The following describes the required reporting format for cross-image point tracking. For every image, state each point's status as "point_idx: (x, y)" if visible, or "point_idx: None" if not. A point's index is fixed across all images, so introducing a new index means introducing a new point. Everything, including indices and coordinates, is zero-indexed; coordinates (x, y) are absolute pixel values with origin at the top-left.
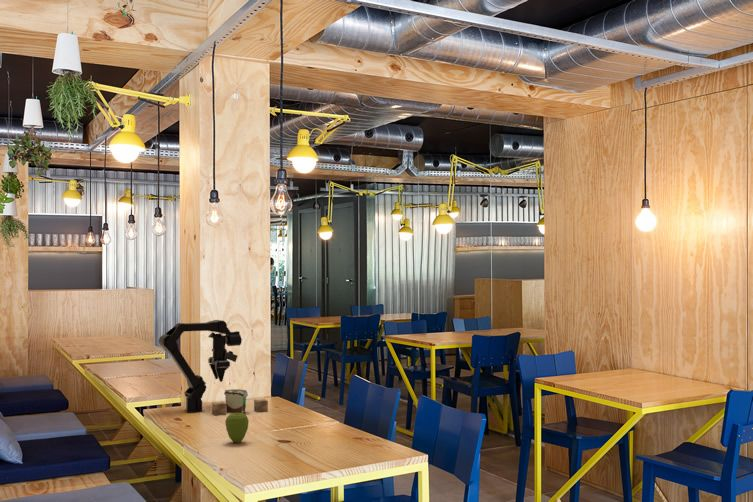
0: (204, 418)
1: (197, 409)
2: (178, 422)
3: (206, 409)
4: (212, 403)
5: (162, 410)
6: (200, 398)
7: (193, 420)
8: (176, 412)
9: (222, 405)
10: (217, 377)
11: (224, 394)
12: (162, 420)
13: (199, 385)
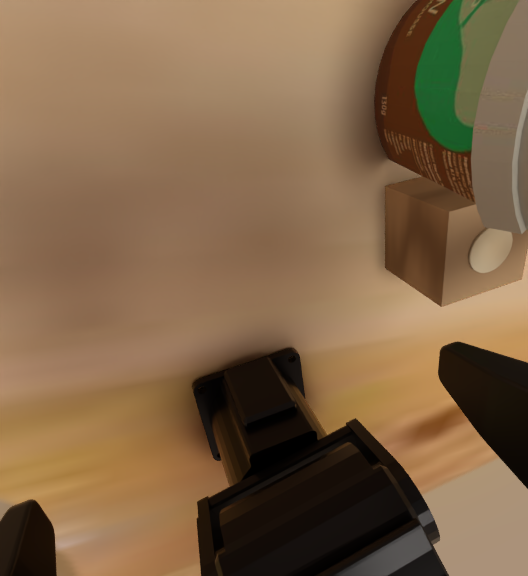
0: (495, 300)
1: (293, 383)
2: None
3: (205, 327)
4: (444, 302)
5: (175, 563)
6: (313, 427)
7: (509, 347)
8: None
9: None
10: (32, 534)
11: (490, 223)
12: (437, 474)
13: (435, 542)
